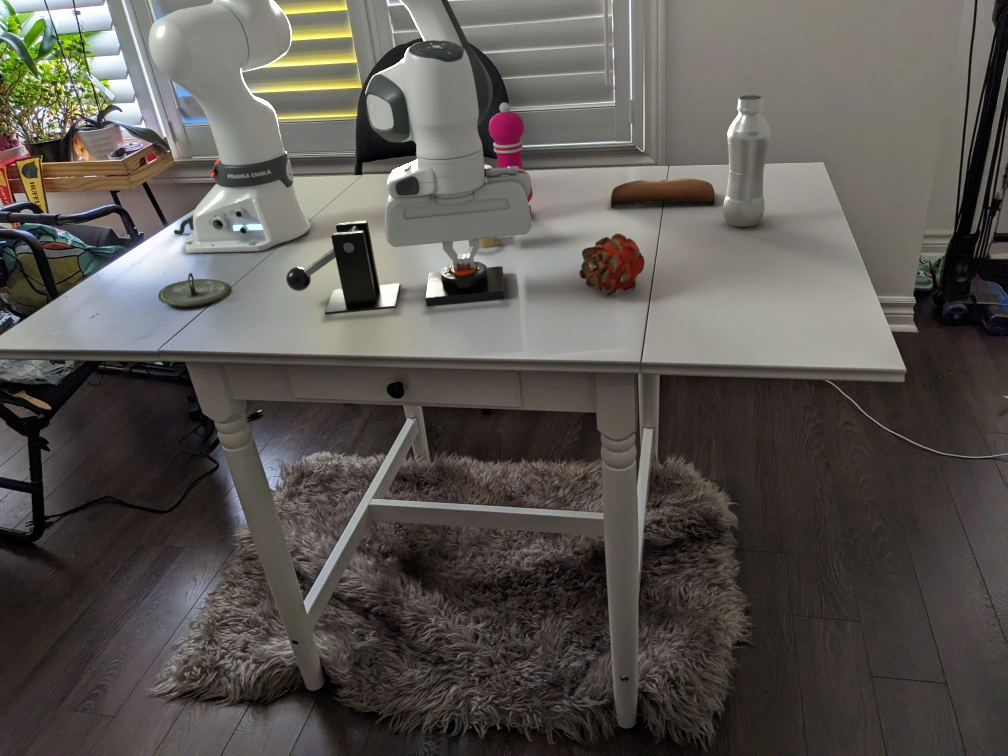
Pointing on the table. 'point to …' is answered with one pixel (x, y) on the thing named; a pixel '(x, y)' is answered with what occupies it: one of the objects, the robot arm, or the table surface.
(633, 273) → the dragon fruit
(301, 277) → the lever
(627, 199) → the sunglasses case
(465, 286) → the button block
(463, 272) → the button
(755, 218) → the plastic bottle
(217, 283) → the metal shank button
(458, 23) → the robot arm
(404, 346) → the table surface
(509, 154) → the pepper mill
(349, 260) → the switch bracket
